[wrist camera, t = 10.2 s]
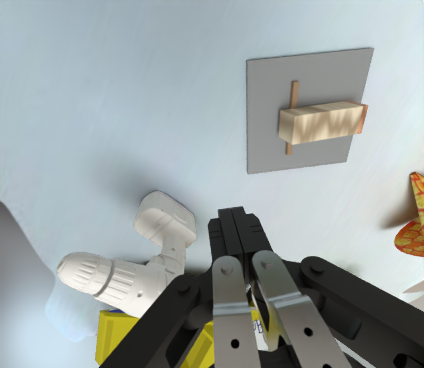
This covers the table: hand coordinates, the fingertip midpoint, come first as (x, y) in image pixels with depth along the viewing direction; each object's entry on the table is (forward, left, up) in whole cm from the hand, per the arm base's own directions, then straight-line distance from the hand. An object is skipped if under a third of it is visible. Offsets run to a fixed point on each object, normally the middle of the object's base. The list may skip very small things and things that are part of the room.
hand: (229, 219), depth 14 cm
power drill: (+21, -12, -33) cm, 41 cm away
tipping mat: (+4, +20, -33) cm, 39 cm away
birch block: (+4, +15, -28) cm, 32 cm away
